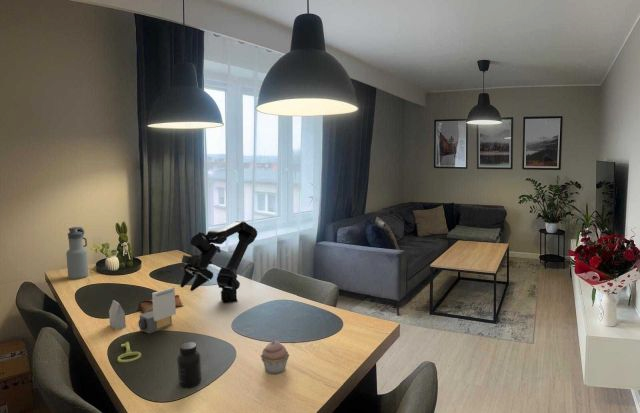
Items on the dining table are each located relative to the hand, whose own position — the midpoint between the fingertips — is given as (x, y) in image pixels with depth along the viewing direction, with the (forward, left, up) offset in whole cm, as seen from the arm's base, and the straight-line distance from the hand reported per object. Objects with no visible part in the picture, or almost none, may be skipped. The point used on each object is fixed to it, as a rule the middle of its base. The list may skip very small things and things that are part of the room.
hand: (186, 288), depth 171 cm
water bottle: (+50, -84, -13) cm, 98 cm away
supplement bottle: (+5, +51, -13) cm, 53 cm away
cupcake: (-21, +54, -13) cm, 60 cm away
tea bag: (+27, -3, -13) cm, 30 cm away
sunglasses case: (+9, -17, -13) cm, 23 cm away
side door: (+9, +8, -8) cm, 14 cm away
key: (+22, +24, -13) cm, 35 cm away
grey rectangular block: (+13, +5, -13) cm, 19 cm away
